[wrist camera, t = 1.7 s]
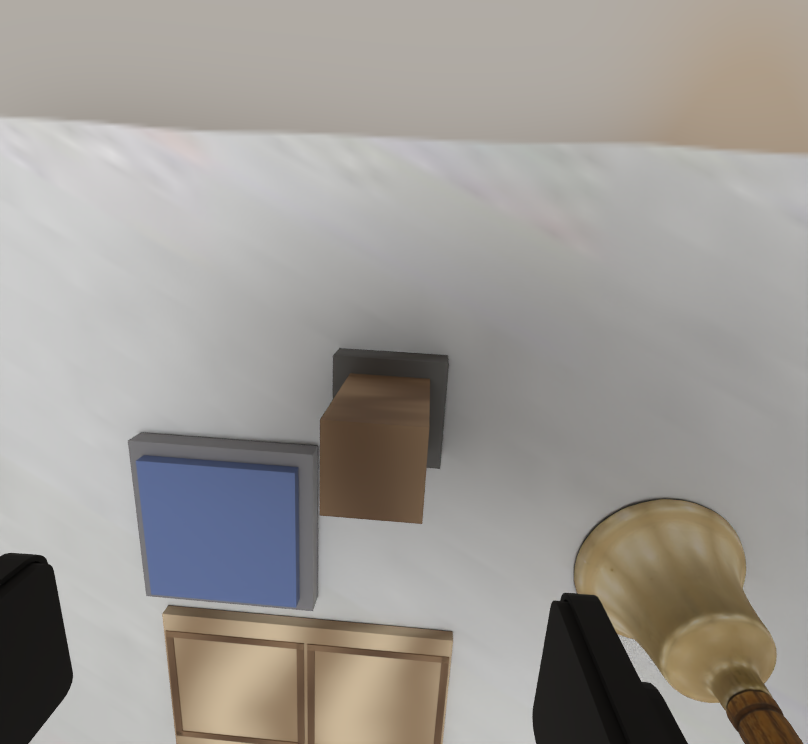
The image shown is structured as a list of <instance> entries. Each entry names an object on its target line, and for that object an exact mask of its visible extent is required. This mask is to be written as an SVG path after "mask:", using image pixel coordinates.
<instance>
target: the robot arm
mask: <svg viewBox="0 0 808 744" xmlns="http://www.w3.org/2000/svg"><path fill="white" fill-rule="evenodd" d="M72 679H73V671H72V666H71V660H70V655H69V650H68V644H67V639H66V634H65V628H64V623H63V618H62V612H61V607H60V602H59V596H58V591H57V586H56V580H55V575H54V570H53V567H52V566H51V565H49V564H48V562H47V560H46V558H45V557H43V556H41V555H33V554H19V553H7V554H4V555H2V556H0V744H28V743H29V742H30V741H31V740H32V738H33V737H34V736H35V735H36V733H37V732H38V731H39V730H40V728H41V727H42V726H43V724H44V723H45V722H46V721H47V719H48V718H49V717H50V716H51V714H52V713H53V712H54V711H55V709H56V708H57V707H58V705H59V704H60V703H61V702H62V700H63V699H64V698H65V696H66V695H67V693H68V691H69V689H70V686H71V683H72ZM533 730H534V735H535V740H536V744H688V743H687V741H686V740H685V738H684V736H683V734H682V732H681V730H680V728H679V726H678V725H677V723H676V721H675V719H674V717H673V715H672V713H671V711H670V710H669V708H668V706H667V704H666V702H665V700H664V699H663V697H662V695H661V694H660V692H659V691H658V689H657V688H656V687H654V686H653V685H652V684H651V683H647V682H641V680H640V678H639V676H638V674H637V672H636V670H635V668H634V666H633V664H632V662H631V661H630V659H629V657H628V655H627V653H626V651H625V649H624V647H623V645H622V643H621V641H620V639H619V637H618V635H617V633H616V631H615V629H614V627H613V625H612V623H611V621H610V619H609V617H608V615H607V613H606V611H605V609H604V607H603V605H602V603H601V601H600V599H599V598H598V597H597V596H596V595H588V594H575V593H563V595H562V596H561V600H560V601H553V602H552V604H551V608H550V613H549V619H548V625H547V631H546V636H545V642H544V648H543V654H542V659H541V665H540V671H539V677H538V682H537V688H536V694H535V700H534V706H533Z"/></svg>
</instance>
